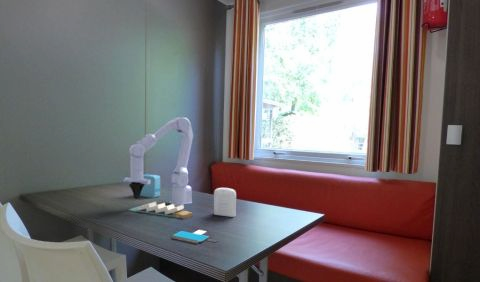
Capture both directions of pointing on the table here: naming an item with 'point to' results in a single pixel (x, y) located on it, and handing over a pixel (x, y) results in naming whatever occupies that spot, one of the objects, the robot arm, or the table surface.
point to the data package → (151, 186)
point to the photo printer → (225, 202)
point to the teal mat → (152, 212)
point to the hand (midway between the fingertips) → (137, 198)
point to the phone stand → (192, 236)
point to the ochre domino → (182, 214)
